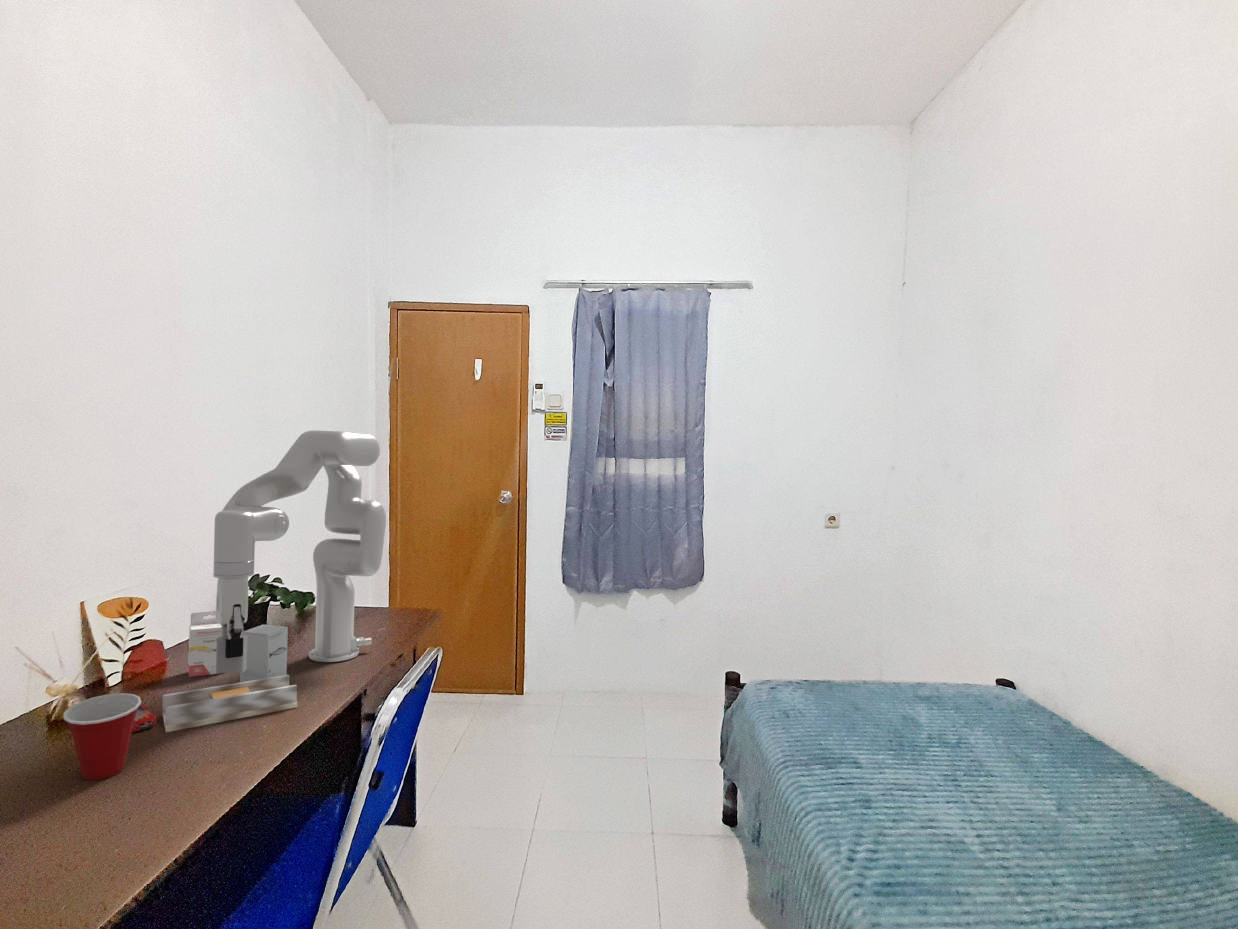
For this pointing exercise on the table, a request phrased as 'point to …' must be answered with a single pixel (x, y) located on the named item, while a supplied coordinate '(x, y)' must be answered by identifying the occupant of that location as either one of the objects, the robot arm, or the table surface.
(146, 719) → the race car
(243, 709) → the rail board
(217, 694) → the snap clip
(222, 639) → the power adapter
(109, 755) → the plastic cup
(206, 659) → the ink cartridge box
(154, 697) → the table surface
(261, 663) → the supplement box
